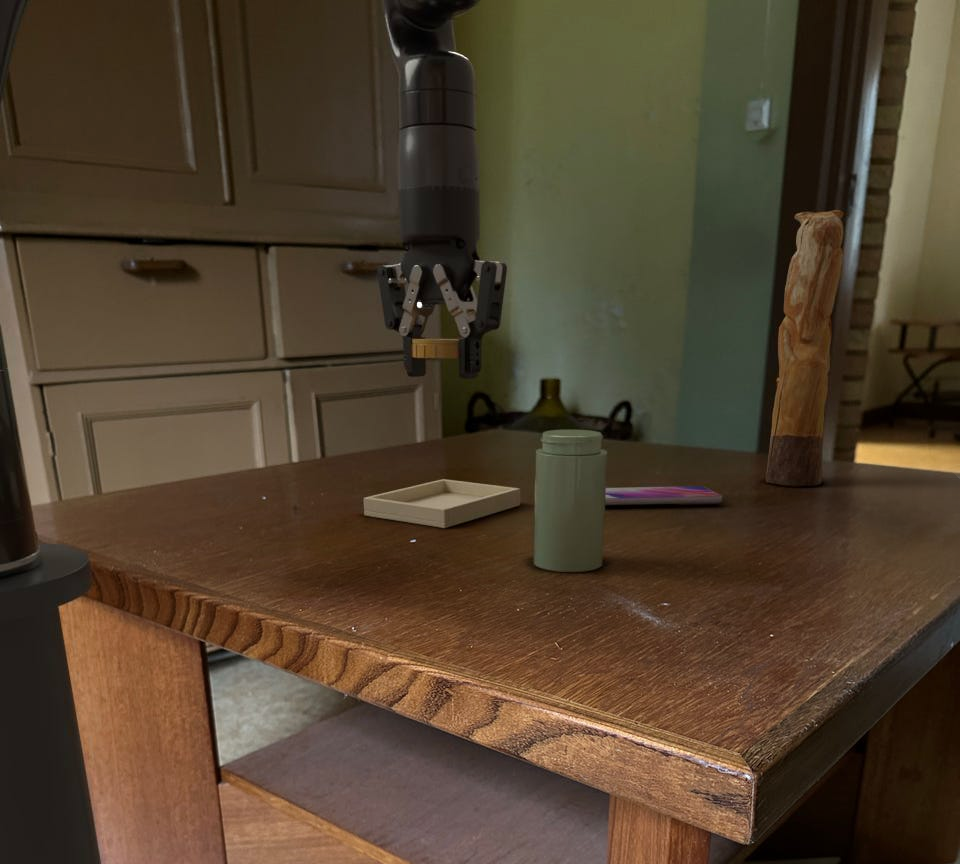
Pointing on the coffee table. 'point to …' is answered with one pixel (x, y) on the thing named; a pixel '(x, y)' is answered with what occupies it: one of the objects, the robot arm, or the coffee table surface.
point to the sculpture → (805, 352)
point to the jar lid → (435, 348)
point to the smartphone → (661, 496)
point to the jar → (570, 501)
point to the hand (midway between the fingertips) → (441, 376)
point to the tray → (442, 502)
